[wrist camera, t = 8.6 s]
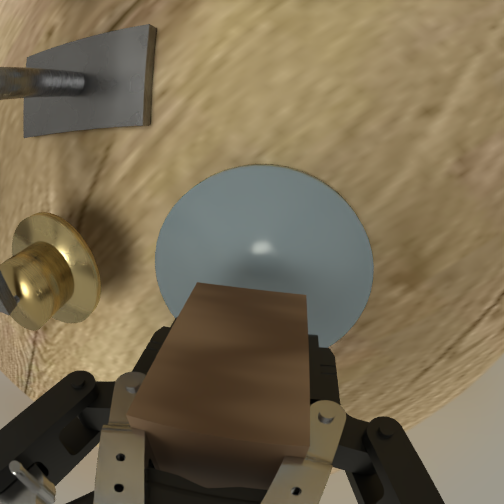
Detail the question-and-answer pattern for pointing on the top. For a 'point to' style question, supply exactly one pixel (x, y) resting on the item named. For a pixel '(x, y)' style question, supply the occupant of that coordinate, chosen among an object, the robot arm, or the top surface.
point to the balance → (63, 120)
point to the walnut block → (229, 388)
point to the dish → (269, 244)
